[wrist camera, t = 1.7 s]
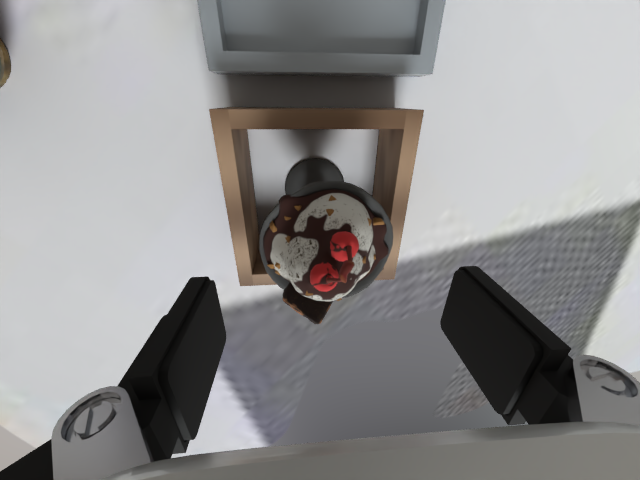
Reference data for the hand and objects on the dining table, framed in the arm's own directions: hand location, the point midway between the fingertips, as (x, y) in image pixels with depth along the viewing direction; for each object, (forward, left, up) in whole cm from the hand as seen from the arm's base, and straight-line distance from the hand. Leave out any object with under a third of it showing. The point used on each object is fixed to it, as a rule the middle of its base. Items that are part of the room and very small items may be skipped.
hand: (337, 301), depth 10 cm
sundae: (-1, 0, -14) cm, 14 cm away
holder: (-1, 0, -13) cm, 13 cm away
